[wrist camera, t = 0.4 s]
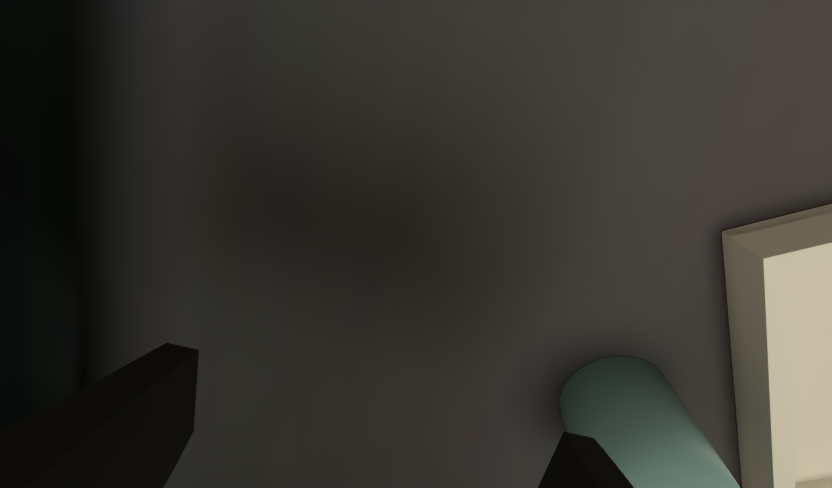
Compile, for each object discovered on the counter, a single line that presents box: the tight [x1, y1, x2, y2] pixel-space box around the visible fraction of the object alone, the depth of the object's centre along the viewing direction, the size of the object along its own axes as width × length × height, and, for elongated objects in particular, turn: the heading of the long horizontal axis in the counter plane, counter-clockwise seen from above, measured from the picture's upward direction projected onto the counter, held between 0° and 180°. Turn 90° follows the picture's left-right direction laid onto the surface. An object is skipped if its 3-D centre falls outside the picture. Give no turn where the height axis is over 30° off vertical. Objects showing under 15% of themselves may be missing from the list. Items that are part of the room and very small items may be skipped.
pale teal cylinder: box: [559, 356, 740, 488], centre depth 17 cm, size 5×5×8 cm
